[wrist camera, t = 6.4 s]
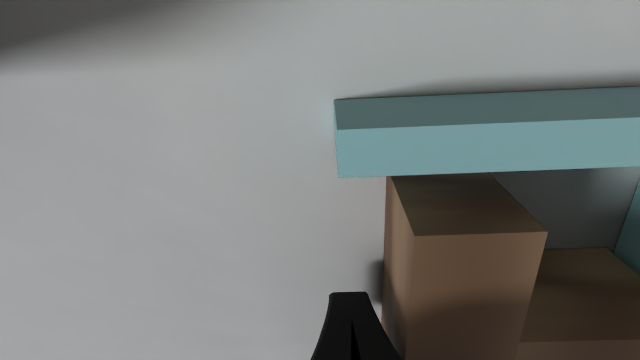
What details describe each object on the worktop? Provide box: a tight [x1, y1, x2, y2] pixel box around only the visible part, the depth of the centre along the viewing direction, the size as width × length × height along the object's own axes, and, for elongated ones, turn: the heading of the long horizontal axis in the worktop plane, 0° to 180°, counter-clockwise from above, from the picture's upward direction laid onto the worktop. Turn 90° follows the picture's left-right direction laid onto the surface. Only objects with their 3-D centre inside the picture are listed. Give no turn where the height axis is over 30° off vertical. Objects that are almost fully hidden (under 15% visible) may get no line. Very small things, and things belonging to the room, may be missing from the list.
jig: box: [334, 86, 640, 276], centre depth 13 cm, size 14×11×3 cm
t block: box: [381, 172, 640, 360], centre depth 12 cm, size 8×10×4 cm
